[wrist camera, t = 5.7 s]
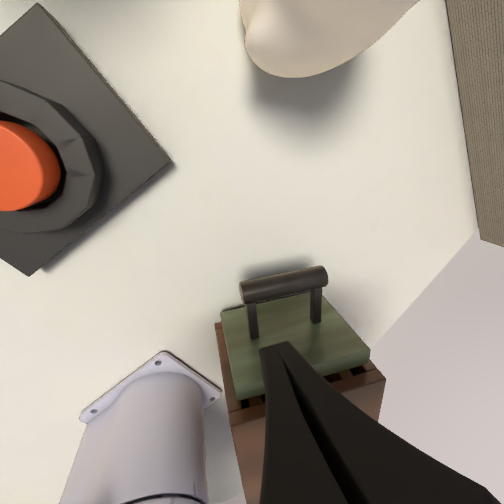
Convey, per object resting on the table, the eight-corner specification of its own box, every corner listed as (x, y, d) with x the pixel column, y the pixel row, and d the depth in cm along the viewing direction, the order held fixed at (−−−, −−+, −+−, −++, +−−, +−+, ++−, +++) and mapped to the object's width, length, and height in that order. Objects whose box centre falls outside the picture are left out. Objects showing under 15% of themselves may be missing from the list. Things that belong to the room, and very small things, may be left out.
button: (25, 217, 12) (2, 228, 11) (-56, 155, 11) (-96, 157, 9) (79, 172, 12) (63, 177, 11) (5, 102, 11) (-26, 95, 9)
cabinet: (214, 323, 21) (230, 427, 13) (319, 299, 23) (386, 378, 15) (230, 404, 25) (249, 516, 18) (317, 379, 27) (368, 472, 19)
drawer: (210, 263, 18) (223, 326, 12) (319, 243, 19) (380, 289, 13) (234, 392, 24) (251, 478, 17) (316, 369, 25) (357, 441, 19)
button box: (40, 267, 16) (10, 292, 13) (-113, 161, 12) (-195, 166, 10) (171, 160, 15) (168, 164, 13) (51, 15, 12) (12, -23, 9)
